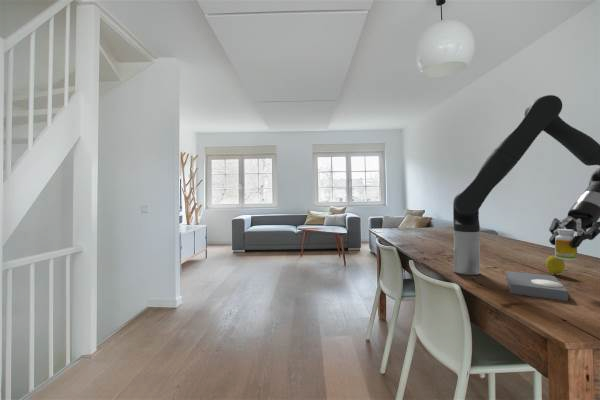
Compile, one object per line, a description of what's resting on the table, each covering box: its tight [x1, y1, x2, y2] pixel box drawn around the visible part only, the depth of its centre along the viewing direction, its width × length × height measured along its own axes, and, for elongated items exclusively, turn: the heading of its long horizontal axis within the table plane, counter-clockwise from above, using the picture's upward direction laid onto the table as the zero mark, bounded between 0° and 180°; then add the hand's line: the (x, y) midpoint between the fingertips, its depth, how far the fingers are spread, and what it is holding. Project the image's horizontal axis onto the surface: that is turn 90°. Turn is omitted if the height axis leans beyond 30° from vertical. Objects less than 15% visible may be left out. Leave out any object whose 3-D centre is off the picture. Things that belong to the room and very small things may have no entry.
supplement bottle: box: [554, 228, 578, 261], centre depth 96 cm, size 5×5×10 cm
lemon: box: [545, 254, 566, 276], centre depth 113 cm, size 6×6×8 cm
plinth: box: [505, 270, 569, 302], centre depth 98 cm, size 14×18×3 cm
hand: (561, 244), depth 95 cm, fingers closed on supplement bottle, 5 cm apart
